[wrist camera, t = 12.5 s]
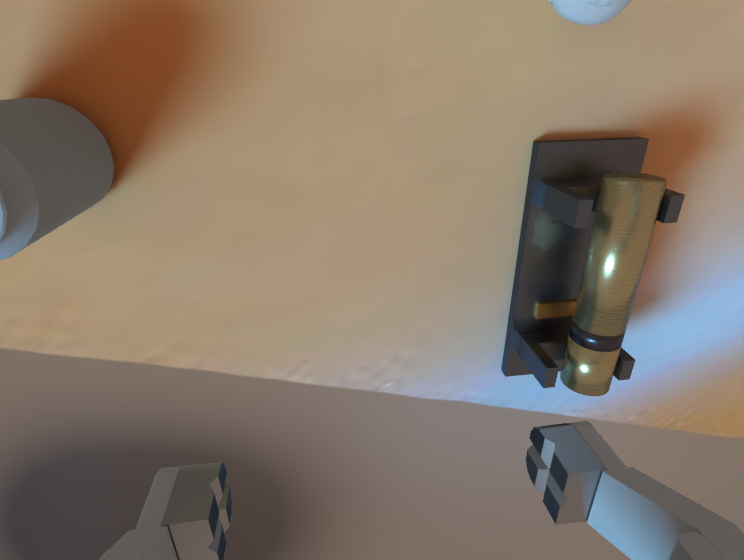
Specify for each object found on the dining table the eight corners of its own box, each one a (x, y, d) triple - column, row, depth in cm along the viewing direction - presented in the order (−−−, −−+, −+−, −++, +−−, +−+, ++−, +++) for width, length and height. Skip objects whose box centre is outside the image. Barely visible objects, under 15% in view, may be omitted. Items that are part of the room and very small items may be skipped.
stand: (533, 140, 34) (580, 155, 28) (640, 137, 35) (706, 150, 29) (501, 370, 43) (531, 416, 38) (585, 362, 44) (627, 405, 39)
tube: (591, 177, 31) (649, 187, 28) (620, 169, 33) (677, 179, 30) (550, 377, 39) (593, 402, 36) (576, 362, 41) (618, 384, 38)
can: (97, 91, 29) (-28, 102, 18) (133, 202, 32) (45, 267, 21) (-24, 101, 28) (-229, 120, 17) (26, 213, 31) (-122, 287, 21)
